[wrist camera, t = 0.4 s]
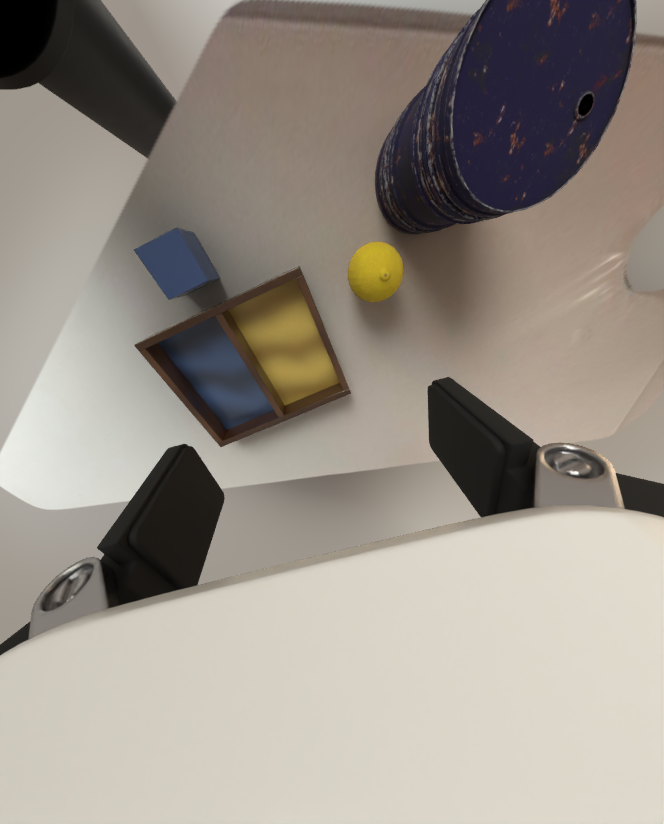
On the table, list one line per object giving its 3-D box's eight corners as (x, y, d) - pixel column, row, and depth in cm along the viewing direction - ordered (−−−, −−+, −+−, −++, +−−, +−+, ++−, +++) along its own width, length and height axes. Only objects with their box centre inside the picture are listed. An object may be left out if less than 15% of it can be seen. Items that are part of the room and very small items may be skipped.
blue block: (156, 251, 26) (133, 249, 23) (194, 232, 26) (176, 227, 22) (185, 294, 29) (168, 299, 25) (220, 277, 28) (208, 280, 25)
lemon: (355, 234, 28) (375, 225, 21) (396, 258, 30) (427, 257, 23) (334, 285, 30) (346, 292, 23) (374, 305, 32) (395, 316, 25)
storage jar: (367, 231, 28) (427, 206, 15) (381, 99, 23) (488, -106, 10) (450, 238, 29) (570, 221, 16) (481, 115, 24) (687, -48, 11)
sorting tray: (149, 336, 31) (133, 345, 28) (299, 265, 29) (299, 266, 26) (226, 432, 39) (220, 447, 36) (346, 382, 37) (351, 393, 34)
